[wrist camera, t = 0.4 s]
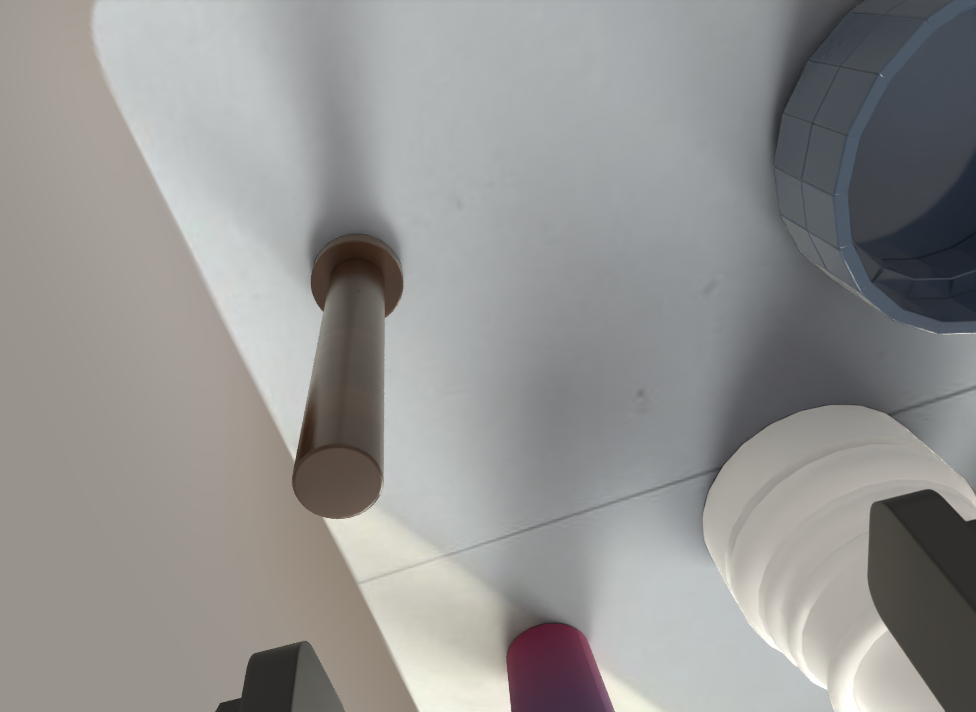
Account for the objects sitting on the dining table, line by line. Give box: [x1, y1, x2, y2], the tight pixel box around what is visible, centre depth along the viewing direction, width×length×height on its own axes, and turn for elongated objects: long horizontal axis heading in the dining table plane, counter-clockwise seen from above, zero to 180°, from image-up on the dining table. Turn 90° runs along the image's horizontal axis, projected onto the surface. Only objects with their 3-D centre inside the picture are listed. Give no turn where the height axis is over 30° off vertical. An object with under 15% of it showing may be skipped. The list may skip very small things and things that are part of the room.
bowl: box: [774, 0, 976, 335], centre depth 33 cm, size 14×14×6 cm
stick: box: [292, 234, 403, 519], centre depth 28 cm, size 4×4×16 cm
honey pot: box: [702, 405, 976, 712], centre depth 36 cm, size 13×13×18 cm
